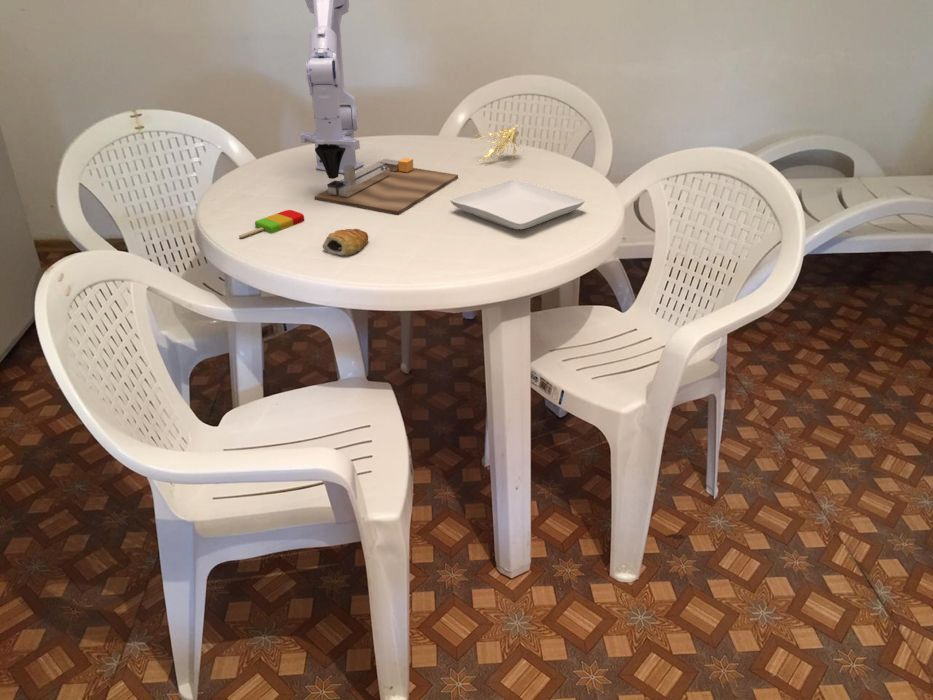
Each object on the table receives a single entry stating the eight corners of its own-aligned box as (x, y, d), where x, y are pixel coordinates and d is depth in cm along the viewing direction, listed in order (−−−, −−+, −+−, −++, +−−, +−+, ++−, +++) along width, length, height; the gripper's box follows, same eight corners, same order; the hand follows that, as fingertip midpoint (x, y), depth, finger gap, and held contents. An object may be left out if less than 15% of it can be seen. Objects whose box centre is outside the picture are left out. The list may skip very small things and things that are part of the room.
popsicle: (307, 222, 152) (306, 213, 151) (249, 244, 142) (247, 235, 141) (290, 216, 155) (289, 208, 154) (231, 238, 145) (230, 229, 144)
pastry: (350, 236, 145) (348, 218, 143) (377, 243, 142) (376, 224, 140) (320, 252, 138) (318, 234, 136) (348, 260, 135) (347, 241, 133)
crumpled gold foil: (470, 169, 191) (460, 139, 184) (509, 138, 195) (500, 108, 189) (500, 179, 183) (490, 149, 177) (539, 147, 188) (531, 116, 182)
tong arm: (382, 173, 176) (380, 148, 172) (390, 174, 175) (388, 149, 172) (339, 195, 162) (336, 169, 159) (347, 197, 161) (345, 170, 158)
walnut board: (381, 166, 184) (381, 162, 184) (458, 178, 176) (458, 174, 175) (314, 199, 163) (314, 196, 163) (398, 215, 154) (398, 211, 154)
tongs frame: (385, 165, 181) (384, 156, 180) (402, 167, 179) (402, 159, 178) (328, 193, 163) (327, 184, 162) (347, 197, 161) (346, 187, 160)
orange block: (405, 167, 180) (404, 157, 178) (413, 168, 179) (412, 159, 177) (398, 170, 177) (398, 161, 176) (407, 172, 176) (406, 162, 175)
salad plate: (513, 190, 169) (513, 176, 167) (586, 214, 156) (587, 198, 154) (447, 213, 156) (447, 198, 155) (520, 240, 143) (521, 224, 142)
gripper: (288, 116, 157) (296, 177, 164) (344, 124, 151) (349, 187, 158) (309, 109, 162) (315, 169, 169) (363, 116, 156) (367, 178, 163)
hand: (333, 177), depth 164 cm, fingers closed
